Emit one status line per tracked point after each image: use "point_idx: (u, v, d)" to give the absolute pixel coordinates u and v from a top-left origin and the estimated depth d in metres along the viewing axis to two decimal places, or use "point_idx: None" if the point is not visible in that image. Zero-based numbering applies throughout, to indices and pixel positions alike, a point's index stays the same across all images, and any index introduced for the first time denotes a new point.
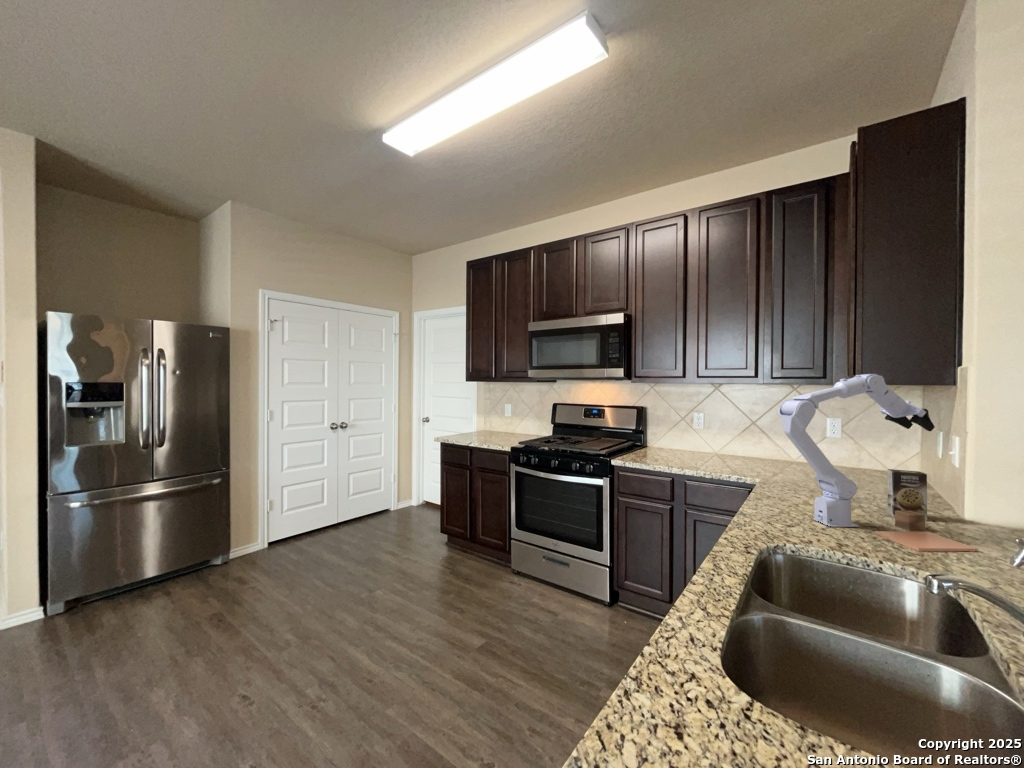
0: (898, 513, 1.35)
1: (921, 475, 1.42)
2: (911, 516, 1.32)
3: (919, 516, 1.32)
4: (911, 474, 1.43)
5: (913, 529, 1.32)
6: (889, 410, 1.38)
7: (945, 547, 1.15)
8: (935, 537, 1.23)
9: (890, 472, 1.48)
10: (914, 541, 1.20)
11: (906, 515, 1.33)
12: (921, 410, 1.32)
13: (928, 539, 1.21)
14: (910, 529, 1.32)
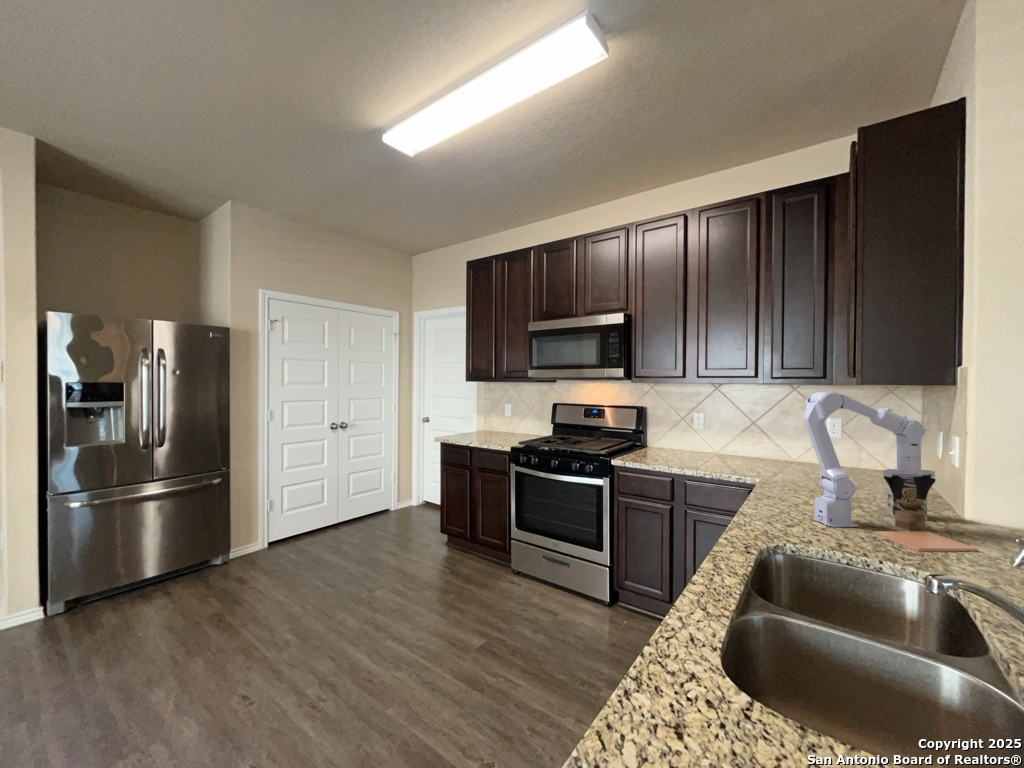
0: (898, 513, 1.35)
1: None
2: (911, 516, 1.32)
3: (919, 516, 1.32)
4: None
5: (913, 529, 1.32)
6: None
7: (945, 547, 1.15)
8: (935, 537, 1.23)
9: None
10: (914, 541, 1.20)
11: (906, 515, 1.33)
12: (887, 471, 1.34)
13: (928, 539, 1.21)
14: (910, 529, 1.32)
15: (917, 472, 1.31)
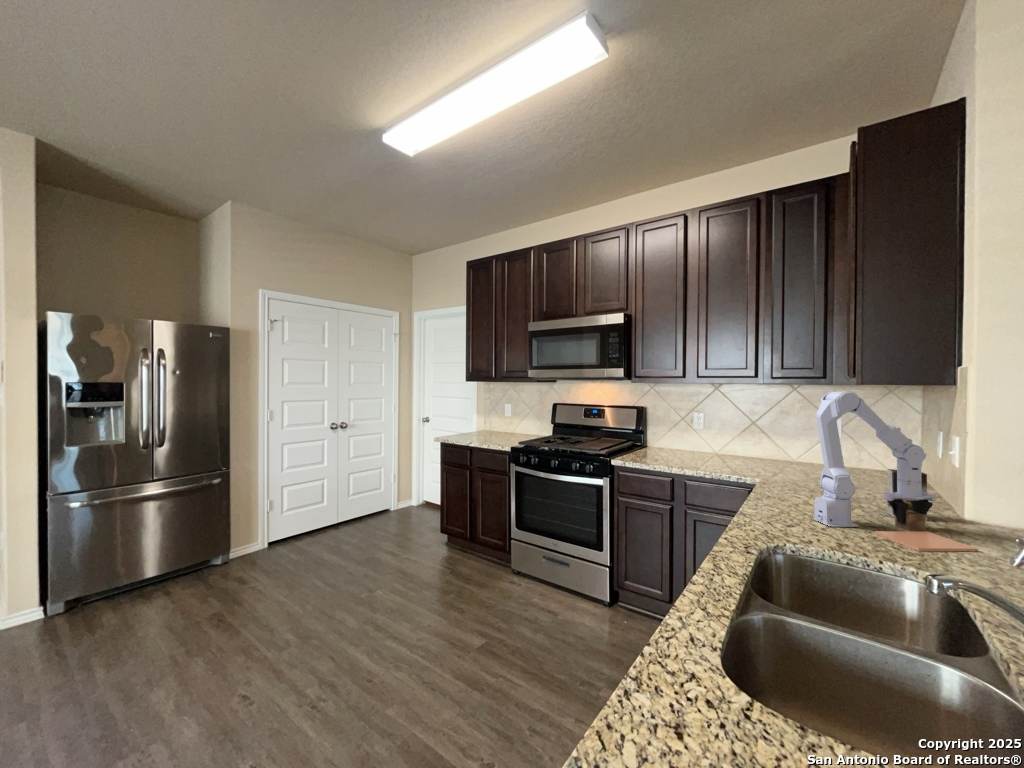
0: None
1: (921, 475, 1.42)
2: (911, 516, 1.32)
3: (919, 516, 1.32)
4: None
5: (913, 529, 1.32)
6: None
7: (945, 547, 1.15)
8: (935, 537, 1.23)
9: (890, 472, 1.48)
10: (914, 541, 1.20)
11: (906, 515, 1.33)
12: (887, 495, 1.34)
13: (928, 539, 1.21)
14: (910, 529, 1.32)
15: (917, 496, 1.31)
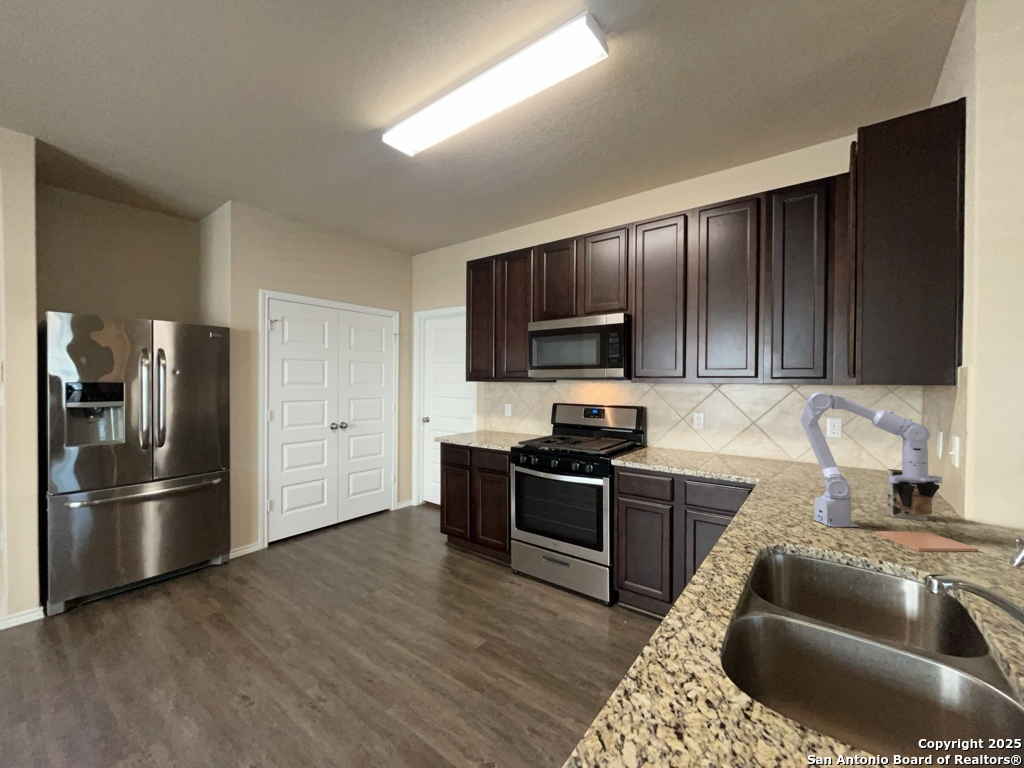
0: None
1: None
2: (917, 499, 1.26)
3: (925, 499, 1.26)
4: None
5: (919, 512, 1.26)
6: None
7: (945, 547, 1.15)
8: (935, 537, 1.23)
9: (890, 472, 1.48)
10: (914, 541, 1.20)
11: (912, 498, 1.27)
12: (892, 477, 1.28)
13: (928, 539, 1.21)
14: (916, 512, 1.26)
15: (924, 478, 1.25)
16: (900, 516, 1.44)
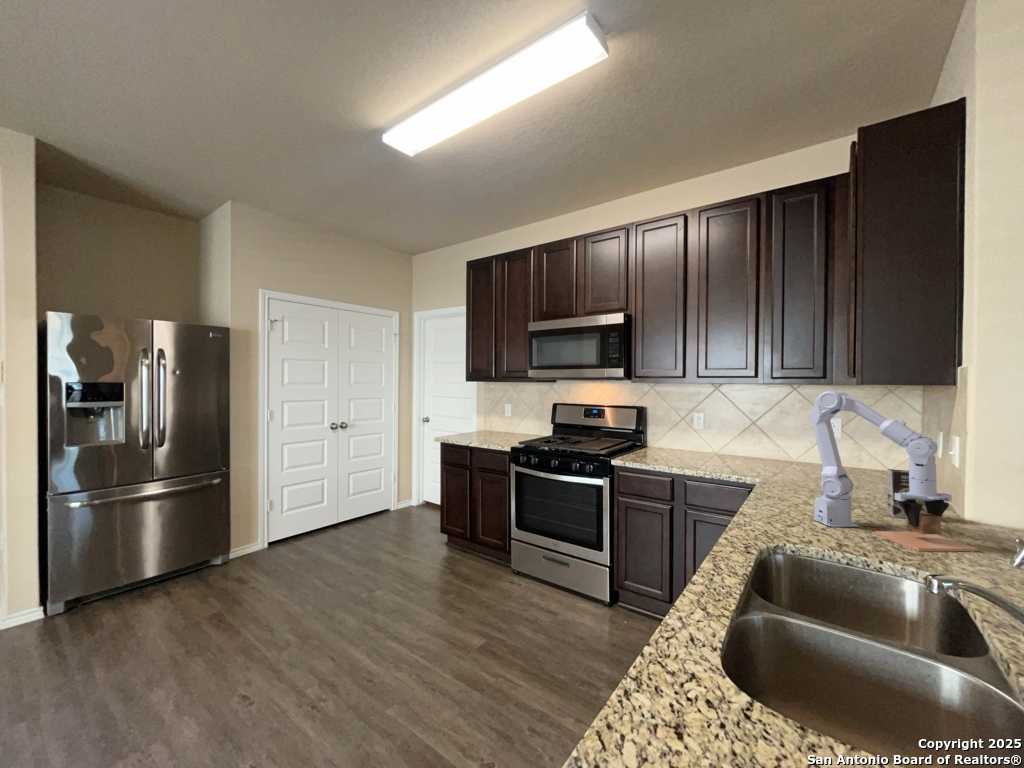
0: None
1: None
2: (925, 518, 1.19)
3: (934, 518, 1.19)
4: None
5: (927, 532, 1.19)
6: None
7: (945, 547, 1.15)
8: (935, 537, 1.23)
9: (890, 472, 1.48)
10: (914, 541, 1.20)
11: (919, 517, 1.20)
12: (898, 495, 1.21)
13: (928, 539, 1.21)
14: (924, 532, 1.19)
15: (932, 496, 1.18)
16: (900, 516, 1.44)
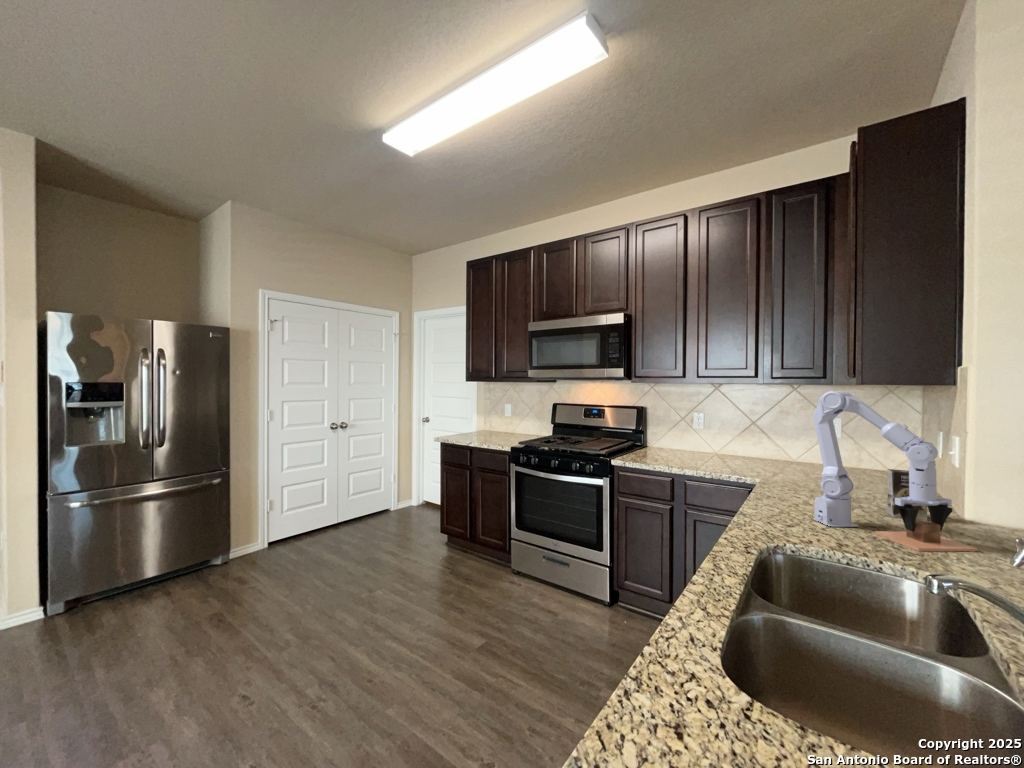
0: None
1: None
2: (925, 526, 1.19)
3: (934, 526, 1.19)
4: None
5: (927, 540, 1.19)
6: None
7: (945, 547, 1.15)
8: None
9: (890, 472, 1.48)
10: (914, 541, 1.20)
11: (919, 525, 1.20)
12: (898, 500, 1.21)
13: None
14: (924, 540, 1.19)
15: (932, 501, 1.18)
16: (900, 516, 1.44)
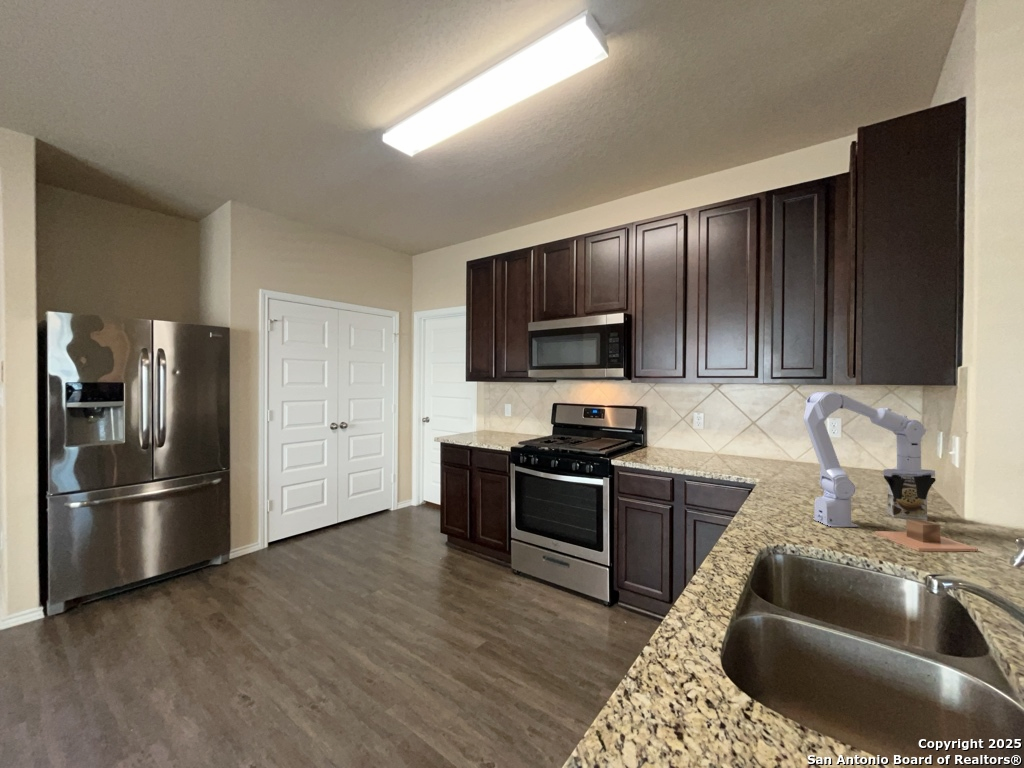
0: (910, 523, 1.23)
1: None
2: (925, 526, 1.19)
3: (934, 526, 1.19)
4: None
5: (927, 540, 1.19)
6: None
7: (945, 547, 1.15)
8: None
9: None
10: (914, 541, 1.20)
11: (919, 525, 1.20)
12: (887, 471, 1.34)
13: None
14: (924, 540, 1.19)
15: (917, 471, 1.31)
16: (900, 516, 1.44)
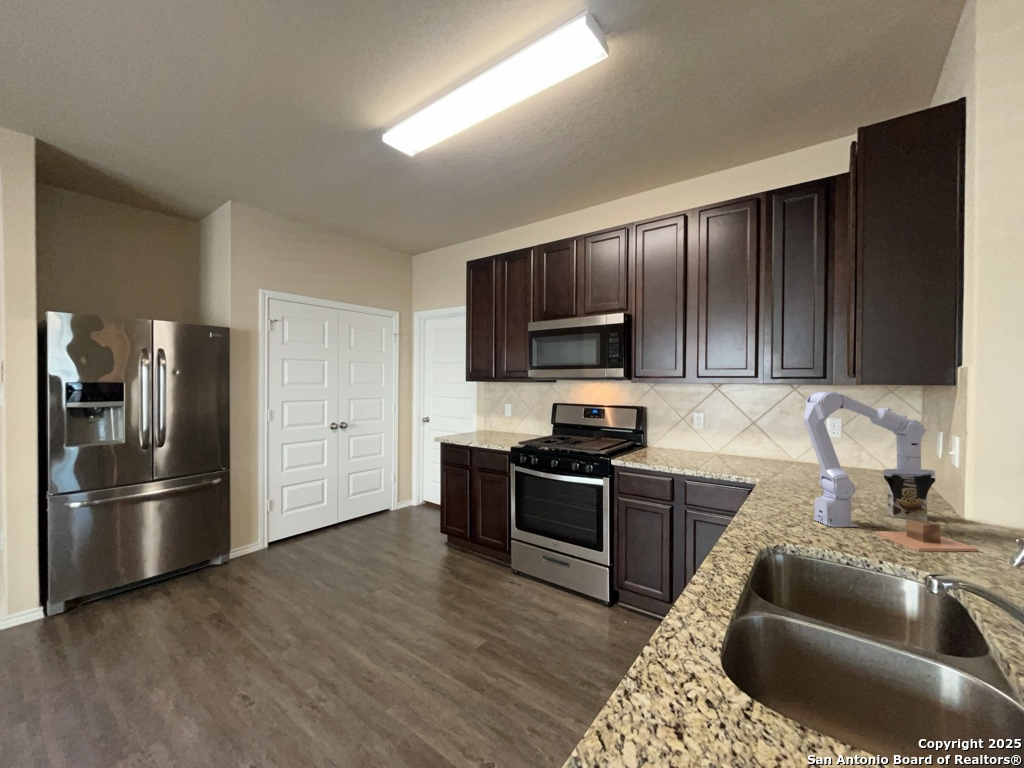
0: (910, 523, 1.23)
1: None
2: (925, 526, 1.19)
3: (934, 526, 1.19)
4: None
5: (927, 540, 1.19)
6: None
7: (945, 547, 1.15)
8: None
9: None
10: (914, 541, 1.20)
11: (919, 525, 1.20)
12: (887, 471, 1.34)
13: None
14: (924, 540, 1.19)
15: (917, 471, 1.31)
16: (900, 516, 1.44)
